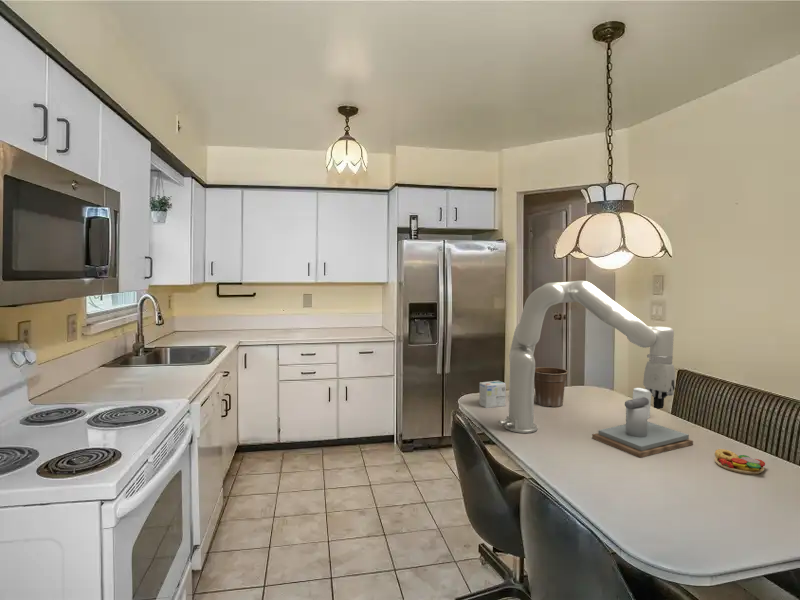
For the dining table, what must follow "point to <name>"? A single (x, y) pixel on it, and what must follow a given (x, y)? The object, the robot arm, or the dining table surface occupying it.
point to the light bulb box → (492, 394)
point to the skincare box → (643, 393)
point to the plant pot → (549, 386)
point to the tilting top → (641, 429)
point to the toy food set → (738, 462)
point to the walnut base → (645, 452)
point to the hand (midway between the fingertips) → (658, 407)
